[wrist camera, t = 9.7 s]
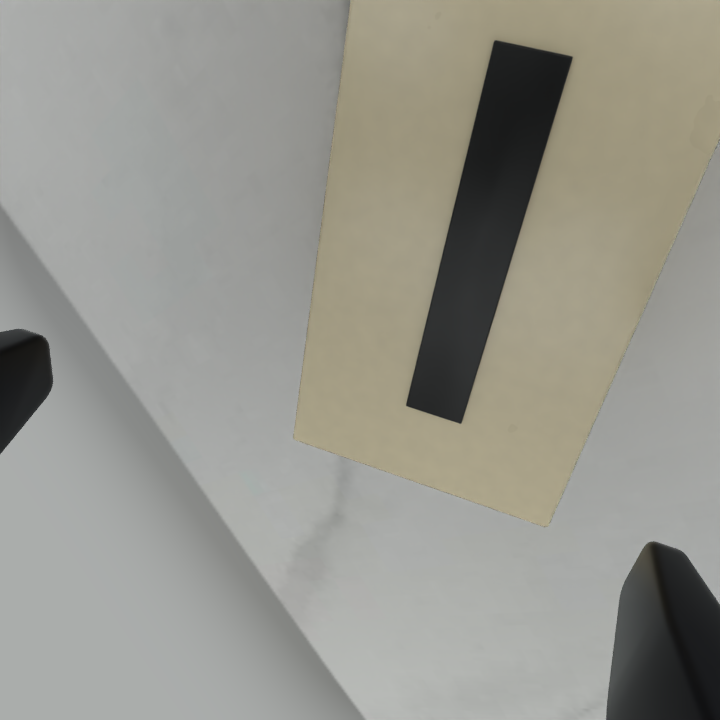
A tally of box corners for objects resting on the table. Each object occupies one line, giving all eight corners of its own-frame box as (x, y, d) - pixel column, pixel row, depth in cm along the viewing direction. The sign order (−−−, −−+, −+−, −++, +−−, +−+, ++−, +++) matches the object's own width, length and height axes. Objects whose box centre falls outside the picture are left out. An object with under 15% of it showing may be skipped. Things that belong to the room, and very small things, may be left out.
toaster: (379, 314, 21) (290, 442, 15) (461, -102, 15) (366, -148, 9) (567, 370, 20) (547, 532, 14) (735, -55, 14) (817, -75, 8)
